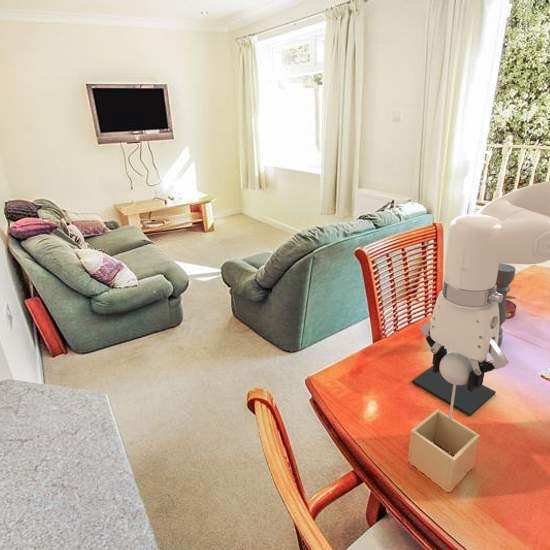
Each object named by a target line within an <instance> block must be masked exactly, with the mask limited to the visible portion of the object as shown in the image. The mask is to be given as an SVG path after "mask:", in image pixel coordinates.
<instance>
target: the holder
mask: <svg viewBox="0 0 550 550" xmlns="http://www.w3.org/2000/svg"><path fill="white" fill-rule="evenodd" d="M480 438H481V435H480V434H479V433H477V432H476V431H474V430H472V429H471V428H469V427H468V426H466V425H464V424H463V423H461V422H460V421H458V420H456V419H455V418H453V417H452V418H451V419H449V415H448V414H446V413H445V412H443V411H441V410H440V409H439V408H437V409H435V410H434V411H433V412H432V413H431V414H429V415H428V416H427V417H425V419H423V420H422V421H420V422H419V423H418V424H417V425H416V426H414V427H413V428H412V429H411V430H410V436H409V446H408V454H407V455H408V456H407V462H408V461H409V462H410V463H411V464H413V465H414V466H415V467H416V468H417V469H419V470H420V471H422V472H423V473H424V474H425V475H427V476H428V477H429V478H431V479H432V480H433V481H434V482H436V483H437V484H438V485H440V486H441V487H442V488H444V489H445V490H446V491H447V492H449V491H450V490H451V489H452V488H453V487H454V486H455V485H456V484H457V483H458V482H459V481H460V480H461V479H462V478H463V477H464V476H465V475H466V474H467V472H469V471H470V470H471V469H472V470H473V469H474V467H475V463H476V462H475V461H476V457H477V453H478V448H479V443H480ZM435 443H436V444H435ZM437 444H438V445H439V446H438V445H437ZM440 446H441V447H442V448H441V447H440ZM443 448H444V449H445V450H444V449H443ZM446 450H447V451H448V452H450V453H451V454H453V455H454V456H453V455H451V454H450V453H448V452H447V451H446ZM410 463H409V464H410ZM411 464H410V465H411ZM415 467H414V468H415ZM416 468H415V469H416ZM417 469H416V470H417ZM419 470H418V471H419ZM472 470H471V471H472ZM420 471H419V472H420ZM471 471H470V472H471ZM470 472H469V473H470ZM424 474H423V475H424ZM425 475H424V476H425ZM467 475H468V474H467ZM467 475H466V476H467ZM466 476H465V477H466ZM465 477H464V478H465ZM429 478H428V479H429ZM464 478H463V479H464ZM463 479H462V480H463ZM462 480H461V481H462ZM433 481H432V482H433ZM461 481H460V482H461ZM434 482H433V483H434ZM460 482H459V483H460ZM459 483H458V484H459ZM458 484H457V485H458ZM438 485H437V486H438ZM457 485H456V486H457ZM456 486H455V487H456ZM455 487H454V488H455ZM454 488H453V489H454ZM453 489H452V490H453ZM452 490H451V491H452ZM446 491H445V492H446ZM451 491H450V492H451ZM447 492H446V493H447ZM450 492H449V493H450Z"/></svg>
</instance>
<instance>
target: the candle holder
mask: <svg viewBox="0 0 550 550" xmlns="http://www.w3.org/2000/svg"><path fill="white" fill-rule="evenodd" d="M515 275H516V267H515V266H513V265H512V264H504V263H503V264H500V265H499V268H498V274H497V279H496V285H495V286H497V288H496V292H498V293H499V294H501V295H503V299H502V301H501V302H500V303H499V302H498V306H499V337H498V345H497V346H498V347H499V348H500V347H501V346H502V342H503V336H504V335H503V332H504V331H503V328H502V325H503V324H504V323H505V322H506V320H507V319H506V318H507V316H506V305H505V300H507V299H506V295H507V296H508V293H509V292H510V291H511V286H510V284H512V282H513V281H514V279H515Z"/></svg>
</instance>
